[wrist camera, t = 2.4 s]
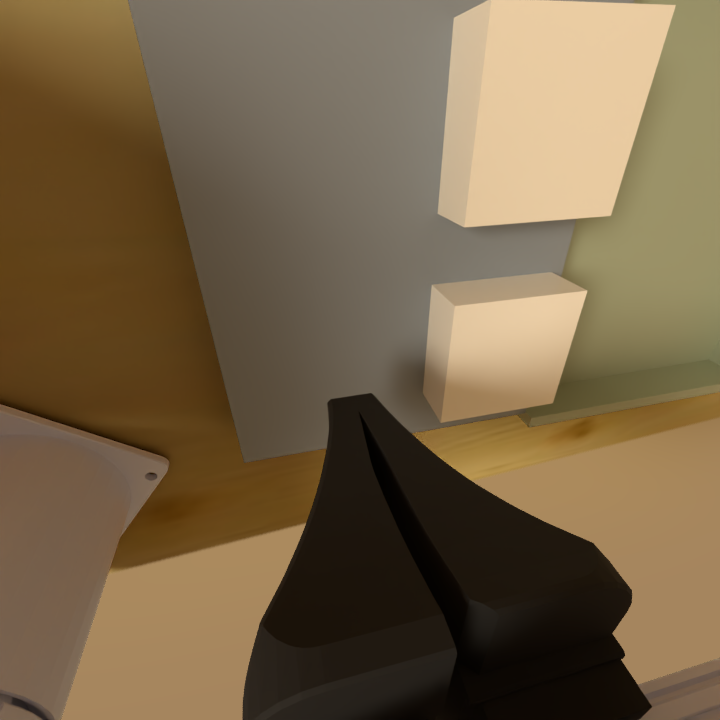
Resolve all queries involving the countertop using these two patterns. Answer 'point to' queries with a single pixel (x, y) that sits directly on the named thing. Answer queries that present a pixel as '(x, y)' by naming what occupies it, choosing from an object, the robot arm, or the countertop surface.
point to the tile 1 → (545, 107)
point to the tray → (654, 245)
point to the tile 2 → (498, 343)
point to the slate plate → (320, 200)
